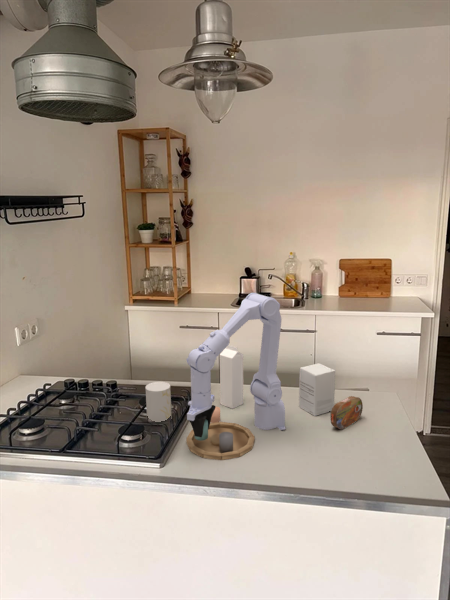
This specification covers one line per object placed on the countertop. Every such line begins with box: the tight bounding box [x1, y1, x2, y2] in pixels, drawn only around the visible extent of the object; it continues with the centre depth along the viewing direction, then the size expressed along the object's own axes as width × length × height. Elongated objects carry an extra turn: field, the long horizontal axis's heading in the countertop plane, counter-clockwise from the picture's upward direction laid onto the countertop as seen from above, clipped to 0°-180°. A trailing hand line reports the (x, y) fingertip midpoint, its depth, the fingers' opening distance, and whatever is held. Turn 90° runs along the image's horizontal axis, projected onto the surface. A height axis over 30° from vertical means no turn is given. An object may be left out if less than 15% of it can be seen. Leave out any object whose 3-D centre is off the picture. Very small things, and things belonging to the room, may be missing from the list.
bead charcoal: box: [219, 432, 233, 453], centre depth 135 cm, size 4×4×5 cm
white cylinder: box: [145, 381, 172, 422], centre depth 156 cm, size 8×8×12 cm
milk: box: [219, 344, 244, 410], centre depth 167 cm, size 6×6×22 cm
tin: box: [330, 395, 363, 430], centre depth 153 cm, size 15×3×8 cm, turn 131°
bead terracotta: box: [210, 405, 221, 423], centre depth 154 cm, size 4×4×5 cm
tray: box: [185, 421, 256, 461], centre depth 141 cm, size 20×20×2 cm
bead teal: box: [195, 419, 208, 441], centre depth 138 cm, size 4×4×5 cm
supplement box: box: [298, 362, 336, 417], centre depth 163 cm, size 9×9×15 cm
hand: (201, 432), depth 139 cm, fingers closed on bead teal, 4 cm apart
